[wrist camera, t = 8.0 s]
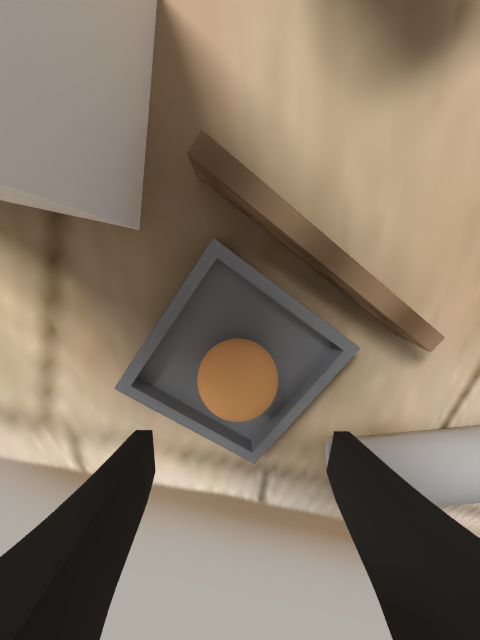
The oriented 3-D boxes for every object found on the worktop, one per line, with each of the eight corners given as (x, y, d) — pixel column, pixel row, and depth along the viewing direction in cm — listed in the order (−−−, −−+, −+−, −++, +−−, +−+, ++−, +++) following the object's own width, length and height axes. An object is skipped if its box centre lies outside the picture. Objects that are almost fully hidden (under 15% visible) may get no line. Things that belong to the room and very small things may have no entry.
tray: (347, 338, 17) (360, 348, 16) (252, 445, 20) (254, 463, 18) (215, 239, 15) (213, 237, 13) (125, 375, 17) (114, 388, 16)
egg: (276, 332, 16) (297, 367, 12) (263, 393, 18) (276, 446, 13) (206, 322, 16) (197, 354, 11) (198, 385, 17) (186, 437, 12)
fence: (409, 323, 17) (445, 337, 14) (397, 335, 17) (430, 352, 15) (207, 155, 14) (201, 129, 11) (196, 174, 14) (187, 153, 11)
